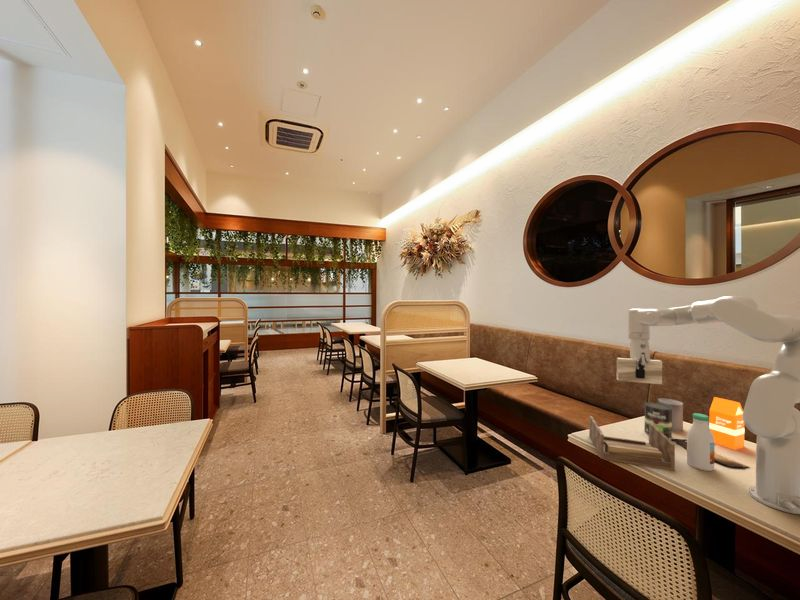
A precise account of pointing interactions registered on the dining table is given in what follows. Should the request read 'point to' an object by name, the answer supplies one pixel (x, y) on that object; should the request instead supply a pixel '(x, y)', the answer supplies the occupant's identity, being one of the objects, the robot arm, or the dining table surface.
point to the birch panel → (628, 371)
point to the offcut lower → (634, 455)
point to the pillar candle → (674, 413)
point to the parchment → (717, 456)
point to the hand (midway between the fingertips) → (638, 376)
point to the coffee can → (658, 418)
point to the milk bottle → (700, 444)
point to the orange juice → (727, 423)
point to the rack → (655, 441)
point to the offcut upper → (633, 449)
